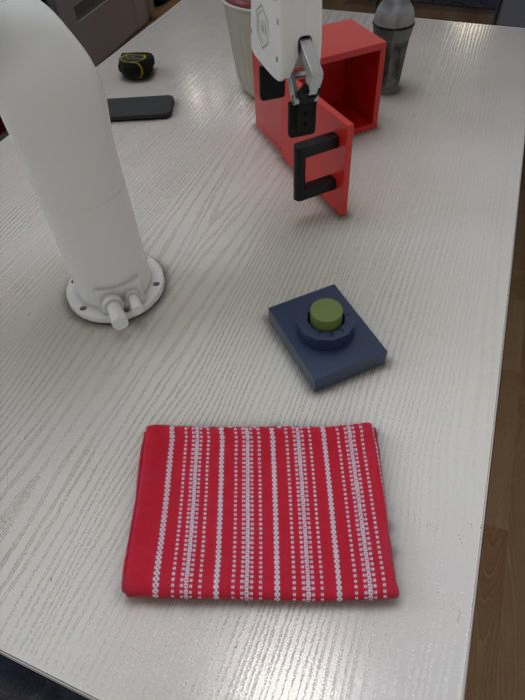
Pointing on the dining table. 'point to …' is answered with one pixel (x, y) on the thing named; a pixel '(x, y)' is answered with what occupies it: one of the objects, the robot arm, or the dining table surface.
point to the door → (320, 155)
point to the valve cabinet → (336, 79)
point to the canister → (241, 40)
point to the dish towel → (260, 515)
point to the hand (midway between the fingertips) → (286, 115)
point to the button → (326, 315)
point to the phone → (140, 107)
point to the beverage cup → (394, 38)
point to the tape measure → (136, 64)
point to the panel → (326, 340)
